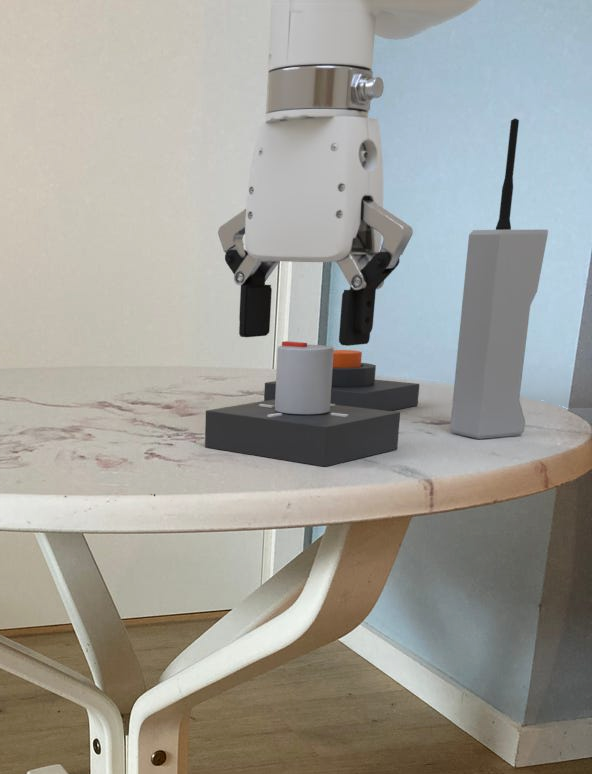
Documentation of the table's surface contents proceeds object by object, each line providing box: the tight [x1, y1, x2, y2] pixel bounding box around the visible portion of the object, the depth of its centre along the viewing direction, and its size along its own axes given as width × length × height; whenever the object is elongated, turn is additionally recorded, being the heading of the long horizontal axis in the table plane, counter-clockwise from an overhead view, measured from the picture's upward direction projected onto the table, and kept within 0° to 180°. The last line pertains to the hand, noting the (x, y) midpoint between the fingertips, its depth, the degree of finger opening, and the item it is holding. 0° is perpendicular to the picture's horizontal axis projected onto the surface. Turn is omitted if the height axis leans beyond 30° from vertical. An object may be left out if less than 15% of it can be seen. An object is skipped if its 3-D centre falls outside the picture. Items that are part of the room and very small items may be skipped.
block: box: [263, 362, 420, 411], centre depth 113 cm, size 12×10×4 cm
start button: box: [333, 349, 363, 368], centre depth 112 cm, size 4×4×2 cm
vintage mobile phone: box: [449, 117, 549, 440], centre depth 92 cm, size 4×5×25 cm
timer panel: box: [204, 399, 401, 468], centre depth 90 cm, size 12×10×3 cm
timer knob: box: [275, 340, 335, 415], centre depth 88 cm, size 4×4×5 cm
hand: (302, 340), depth 87 cm, fingers open, 9 cm apart
